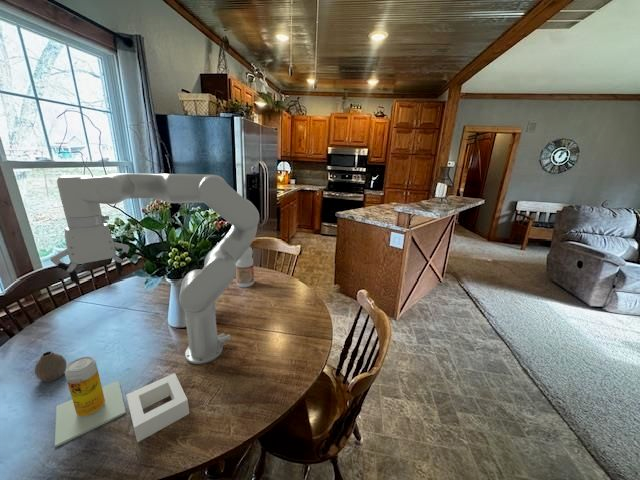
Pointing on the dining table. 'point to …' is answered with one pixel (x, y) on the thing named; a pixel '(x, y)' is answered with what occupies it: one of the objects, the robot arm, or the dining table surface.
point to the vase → (50, 367)
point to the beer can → (85, 386)
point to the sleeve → (161, 414)
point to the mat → (76, 425)
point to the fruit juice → (245, 269)
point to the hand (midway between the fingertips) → (98, 278)
